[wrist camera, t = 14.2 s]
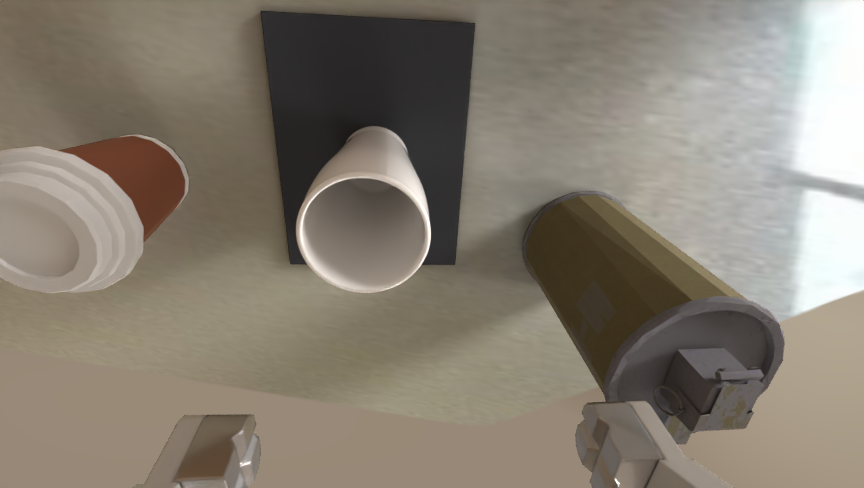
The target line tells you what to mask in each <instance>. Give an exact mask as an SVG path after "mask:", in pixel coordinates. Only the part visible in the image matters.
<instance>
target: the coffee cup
mask: <svg viewBox="0 0 864 488" xmlns="http://www.w3.org/2000/svg"><path fill="white" fill-rule="evenodd" d="M188 185H189V177H188V174H187V171H186V169H185V166H184V163H183V162H182V161H181V159H180V158H179V157H178V156H177V155H176V153H175V152H174V151H173V150H172V149H171V148H170V147H168V146H166V145H165V144H163V143H162V142H160V141H159V140H157V139H155V138H151V137H147V136H143V135H139V134H135V135H125V136H120V137H117V138H113V139H108V140H103V141H99V142H94V143H90V144H85V145H80V146H76V147H71V148H67V149H62V150H57V151H56V150H52V149H48V148H44V147H40V146H33V147H24V148H14V149H5V150H1V151H0V278H1V279H3V280H6V281H8V282H10V283H12V284H14V285H16V286H19V287H21V288H23V289H29V290H34V291H40V292H46V293H58V292H70V293H78V292H86V291H94V290H102V289H105V288H107V287H108V286H110V285H112V284H114V283H116V282H117V281H119V280H121V279H123V278H124V277H126V276H127V275H128V274H129V273H130V272H131V271H132V270H133V268H134V266H135V265H136V263H137V261H138V260H139V258H140V257H141V255H142V253H143V243H144V242H145V241H146V239H147V238H148V237H149V236H150V235H151V234H152V233H153V232H154V231H155V230H156V229H157V228H158V227H159V225H160V224H161V223H162V222H163V221H164V220H165V219H166V218H167V217H168V216H169V215H170V214H171V213H172V212H173V210H174V209H175V208H176V207H177V206H178V205H180V204H181V203H182V201H183V199H184V198H185V196H186V195H187V193H188Z"/></svg>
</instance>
